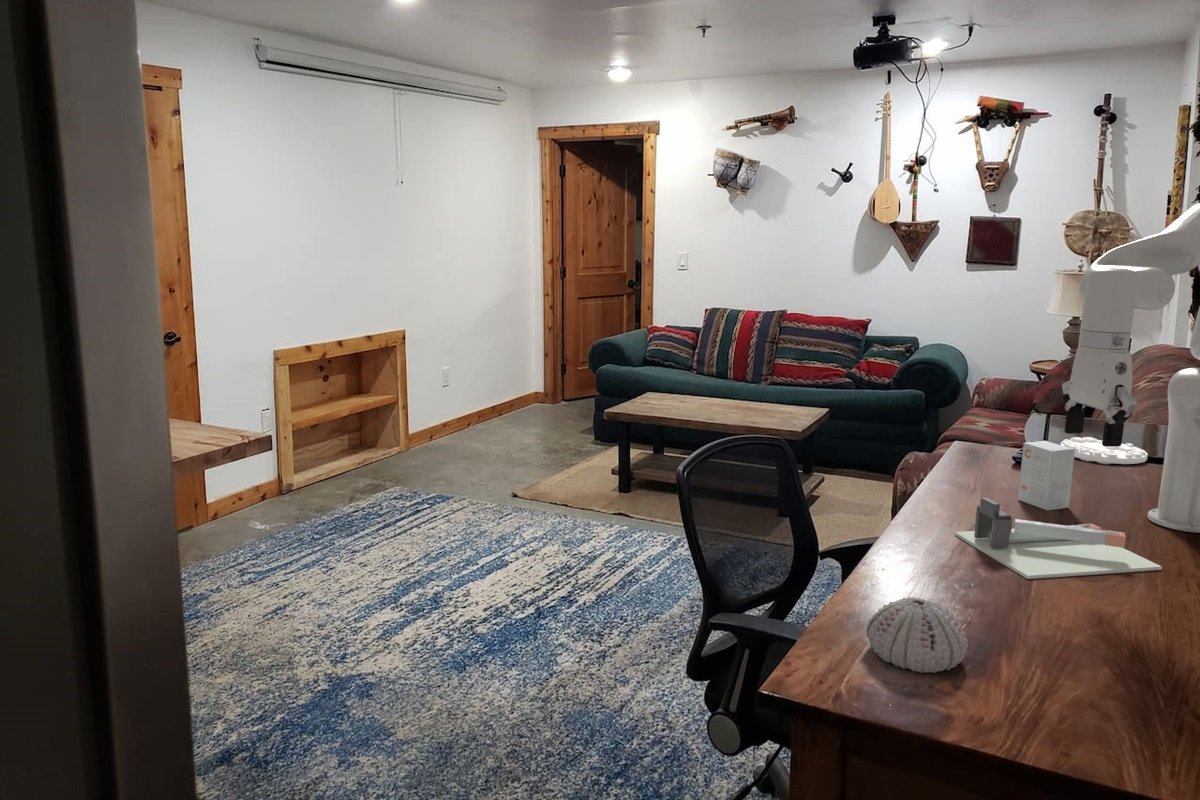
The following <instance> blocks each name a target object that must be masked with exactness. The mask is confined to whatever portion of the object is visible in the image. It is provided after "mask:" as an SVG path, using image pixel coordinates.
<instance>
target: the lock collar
mask: <svg viewBox="0 0 1200 800" xmlns="http://www.w3.org/2000/svg"><path fill="white" fill-rule="evenodd" d="M980 498H981V499H980V505H979V506H977V507H976V514H975V524H974V525H975V526H974V531H975V534H974V537H975V538H976V539H980V538H988V536H989V530H992V539H991V547H992V548H1008V544H1009V534H1010V525H1011V518H1012V515H1010V514H1009V513H1007V512H1005V511H1003V510H1001V509H1000V508H1001V503H999V502H997V501H995V500H993V499H991V498H989V497H980Z"/></svg>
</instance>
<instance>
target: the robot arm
mask: <svg viewBox="0 0 1200 800" xmlns="http://www.w3.org/2000/svg"><path fill="white" fill-rule="evenodd" d="M1197 267H1198V271H1199V272H1200V203H1197V204H1194V205H1192V206H1191V207H1190V208H1188V209H1187V210H1186V211H1184V212H1183V213H1182V214H1181V215H1179V217H1177V218H1176V219H1175V220H1174V221H1173V222H1171V223H1170V224H1169V225H1168V226H1167V227H1166V228H1164V229H1163V230H1162V231H1161V232H1160V233H1157V234H1152V235H1150V236H1147V237H1144V238H1142V239H1138V240H1135V241H1132V242H1130V243H1126V244H1124V245H1123V244H1122V245H1119V246H1117V247H1115V248H1112V249H1111V250H1109V251H1107V252H1105V253H1104V254H1102V255H1101V256H1100V257H1099V258H1097V259H1096V260H1095V261H1094V262H1093V263H1091V265H1090V266H1088V268H1087V269H1086V270H1085V271H1084V273H1083V275H1082V278H1081V280H1080V283H1079V290H1078V291H1079V295H1080V298H1081V300H1082V301H1083V304H1082V311H1081V312H1082V313H1081V322H1080V330H1079V336H1078V337H1079V338H1078V346H1077V350H1076V352H1075V356H1074V359H1073V363H1072V368H1071V374H1070V379H1069V380H1067V381H1065V382H1063V383H1062V384H1061V389H1062V393H1063V396H1062V398H1063V402H1064V403H1065V404H1064V405H1065V406H1064V409H1065V411H1066V414H1065V423H1064V430H1063V431H1064V433H1065V434H1082V433H1084V426H1085V425H1084V424H1085V416H1086V415H1085V414H1086V411H1085V410H1084V408H1086V407H1089V408H1091V409H1092V408H1093V409H1097V410H1101V411H1103V413H1104V416H1105V418H1106V420H1107V422H1104V425H1103V433H1102V445H1103V446H1105V447H1115V446H1121V444H1123V443H1122V442H1123V437H1124V436H1123V435H1124V427H1125V425H1126V424H1127V423H1128V420H1129V419H1130V418H1132V416H1133V412H1134V410H1135V408H1136V407H1137V405H1138V401H1137V399H1135V398H1134V396H1132V389H1133V359H1132V353H1131V352H1129V350H1130V349H1129V348H1130V342H1131V336H1132V335H1131V334H1132V327H1133V319H1134V311H1136V312H1137V311H1138V312H1154V311H1158V310H1160V309H1162V308H1165V307H1166V306H1167V305H1168V304H1169V303H1170V302H1171V300H1172V299H1173V297H1174V294H1175V292H1176V291H1175V290H1176V284H1175V280H1174V278H1173V276H1176V275H1177V276H1178V275H1181V274H1185V273H1189V272H1190V271H1192V270H1194V269H1195V268H1197ZM1196 315H1197V316H1196V318H1195V322H1194V324H1193V330H1192V334H1191V336H1190V337H1191V338H1190V344H1189V351H1190V354H1191V355H1192V357H1194V358H1195V359H1197V360H1199V361H1200V306H1199V307H1198V311H1197V314H1196ZM1167 404H1168V405H1167V406H1168V424H1167V425H1168V426H1167V437H1166V444H1165V449H1164V450H1165V451H1164V459H1163V467H1162V473H1161V480H1160V481H1161V482H1160V488H1159V495H1158V501H1157V502H1158V503H1157V508H1152V509H1150V510H1148V512H1147V519H1148V520H1149V521H1151V522H1152V523H1154V524H1156V525H1159V526H1161V527H1164V528H1167V529H1171V530H1176V531H1180V532H1181V531H1182V532H1189V533H1198V534H1199V533H1200V367H1188V368H1183V369H1181V370H1179V371H1176V372H1175V373H1174V374H1173V375H1172V376H1171V378H1170V379H1169V382H1168V386H1167ZM1114 412H1115V414H1114Z"/></svg>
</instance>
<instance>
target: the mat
mask: <svg viewBox="0 0 1200 800" xmlns="http://www.w3.org/2000/svg"><path fill="white" fill-rule="evenodd" d="M1074 525H1075V524H1071V525H1066V526H1074ZM974 534H975V530H968V531H965V530H964V531H954V536H956V537H957V538H959V539H961V540H962V541H964V542H965V543H967V544H969V545H970V546H972V547H974V548H975V549H977V550H978V551H980V552H982V553H984V554H985V555H987V556H989V557H990V558H992V559H993V560H995V561H996V562H998V563H1000V564H1002V565H1003V566H1005V567H1007V568H1009V569H1010V570H1012V571H1013V572H1015V573H1016V574H1019V575H1020V576H1022V577H1023V578H1024V579H1027V580H1033V579H1034V580H1035V579H1036V580H1037V579H1048V578H1061V577H1063V578H1064V577H1075V576H1090V575H1093V576H1094V575H1104V574H1105V575H1107V574H1116V573H1117V574H1120V573H1134V572H1135V573H1136V572H1149V571H1162V568H1163V567H1162V565H1159V564H1157V563H1156V562H1154V561H1151V560H1149V559H1148V558H1145V557H1143V556H1140V555H1138V554H1136V553H1135V552H1132V551H1130V550H1128V549H1126V548H1121V547H1114V546H1107V545H1104V544H1097V543H1090V542H1082V541H1075V540H1068V539H1067V540H1051V541H1035V542H1018V543H1010V544H1008V548H992V547H991V542H990V541H988V538H980V539H976V538H975V537H974Z"/></svg>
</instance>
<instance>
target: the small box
mask: <svg viewBox="0 0 1200 800" xmlns="http://www.w3.org/2000/svg"><path fill="white" fill-rule="evenodd" d="M1022 446H1023V448H1022V457H1021V465H1020V475H1019V487H1018V494H1017V495H1018V496H1017V500H1018V501H1020V502H1023V503H1026V504H1029V505H1031V506H1034V507H1037V508H1040V509H1042V510H1045V511H1054V510H1062V509H1066V508H1067V509H1068V508H1069V507H1070V500H1071V499H1070V498H1071V490H1072V480H1073V471H1074V462H1075V457H1074V454H1075V449H1073V448H1069V447H1066V446H1062V445H1060V444H1058V443H1053V442H1051V441H1047V440H1040V441H1038V440H1037V441H1027V442H1026V441H1025V442H1023V445H1022Z"/></svg>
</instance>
